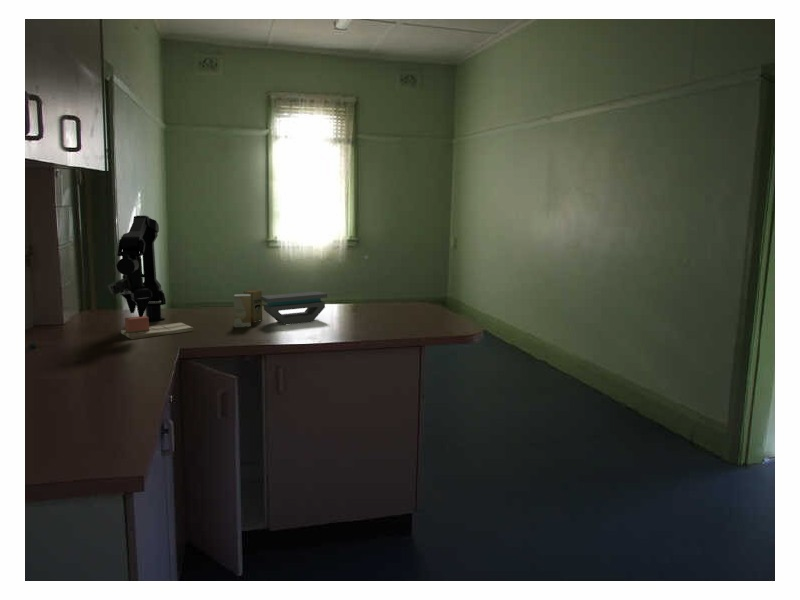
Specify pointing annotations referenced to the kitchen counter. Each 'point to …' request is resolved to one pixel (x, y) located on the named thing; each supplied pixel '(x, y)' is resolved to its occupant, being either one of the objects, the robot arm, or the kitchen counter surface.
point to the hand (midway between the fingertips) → (136, 314)
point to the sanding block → (137, 324)
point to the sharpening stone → (295, 306)
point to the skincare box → (242, 310)
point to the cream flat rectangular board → (159, 330)
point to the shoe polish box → (255, 304)
